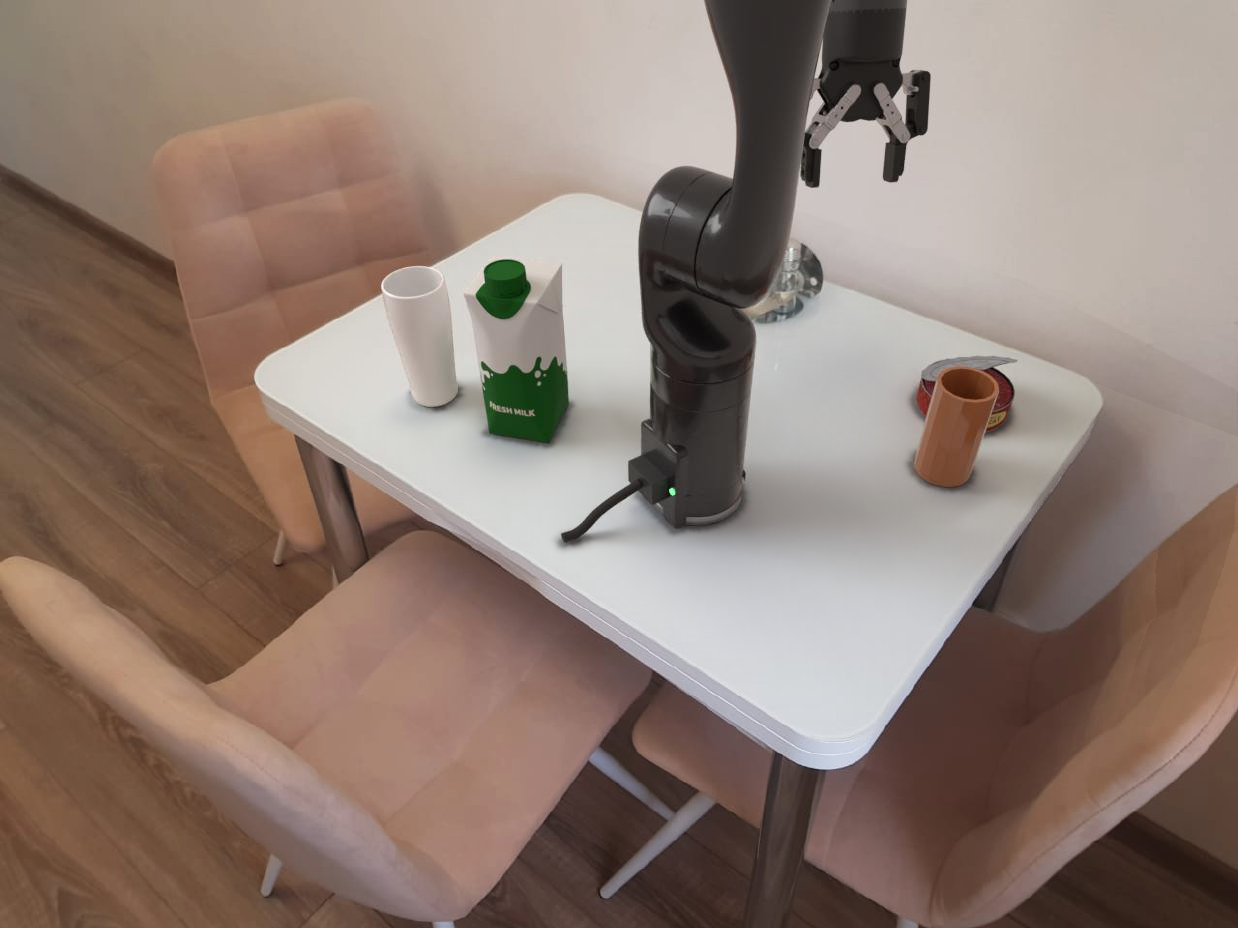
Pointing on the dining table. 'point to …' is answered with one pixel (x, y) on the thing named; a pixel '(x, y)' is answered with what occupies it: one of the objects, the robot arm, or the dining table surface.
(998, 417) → the canned food
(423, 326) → the drinking glass
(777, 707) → the dining table surface
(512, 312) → the milk carton
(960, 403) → the tumbler
